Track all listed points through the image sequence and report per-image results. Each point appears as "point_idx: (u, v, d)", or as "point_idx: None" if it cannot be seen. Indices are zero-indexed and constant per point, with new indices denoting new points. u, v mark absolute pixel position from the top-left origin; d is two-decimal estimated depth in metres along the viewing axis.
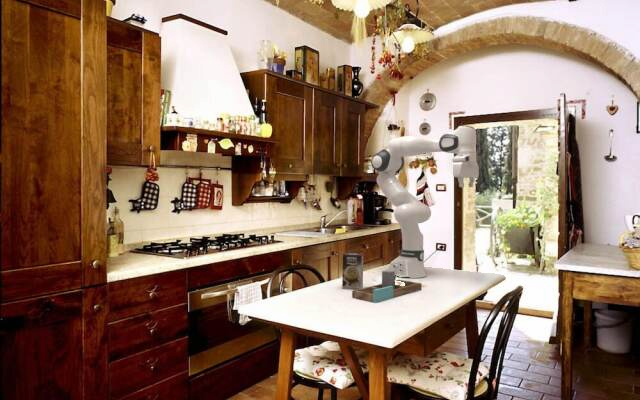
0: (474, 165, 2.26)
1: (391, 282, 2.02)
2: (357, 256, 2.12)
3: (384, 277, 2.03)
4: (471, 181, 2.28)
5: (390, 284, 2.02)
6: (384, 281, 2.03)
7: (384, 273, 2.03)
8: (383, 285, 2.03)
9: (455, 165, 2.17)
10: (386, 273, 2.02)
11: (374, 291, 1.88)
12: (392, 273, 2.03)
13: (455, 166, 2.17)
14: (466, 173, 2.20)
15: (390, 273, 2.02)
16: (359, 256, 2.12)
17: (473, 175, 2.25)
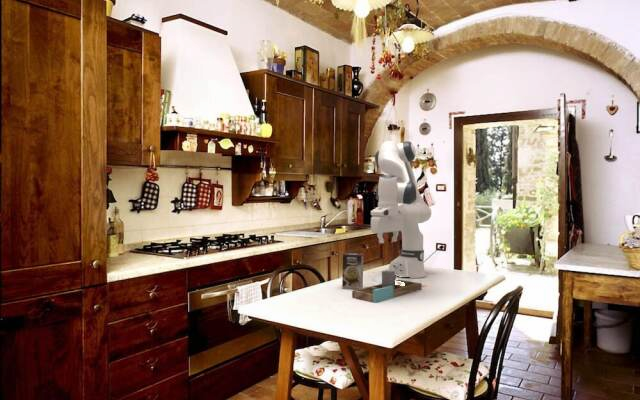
0: (397, 217, 2.06)
1: (391, 282, 2.02)
2: (357, 256, 2.12)
3: (384, 277, 2.03)
4: (395, 235, 2.07)
5: (390, 284, 2.02)
6: (384, 281, 2.03)
7: (384, 273, 2.03)
8: (383, 285, 2.03)
9: (373, 220, 1.97)
10: (386, 273, 2.02)
11: (374, 291, 1.88)
12: (392, 273, 2.03)
13: (373, 221, 1.97)
14: (386, 228, 2.00)
15: (390, 273, 2.02)
16: (359, 256, 2.12)
17: (396, 229, 2.05)
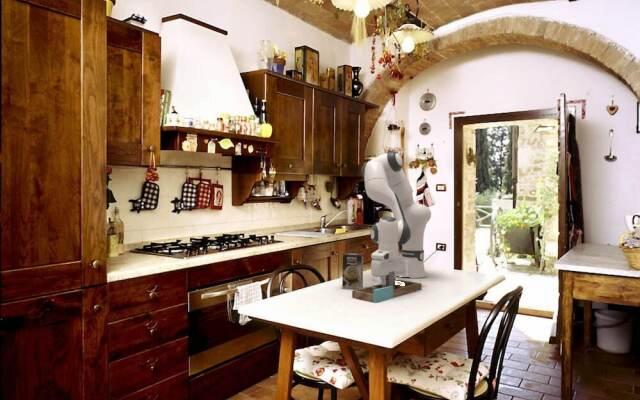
0: (397, 259, 2.06)
1: (391, 282, 2.02)
2: (357, 256, 2.12)
3: None
4: None
5: (390, 284, 2.02)
6: None
7: None
8: (383, 285, 2.03)
9: (374, 263, 1.97)
10: None
11: (374, 291, 1.88)
12: (392, 273, 2.03)
13: (373, 264, 1.97)
14: (387, 271, 2.00)
15: (390, 273, 2.02)
16: (359, 256, 2.12)
17: (396, 270, 2.05)
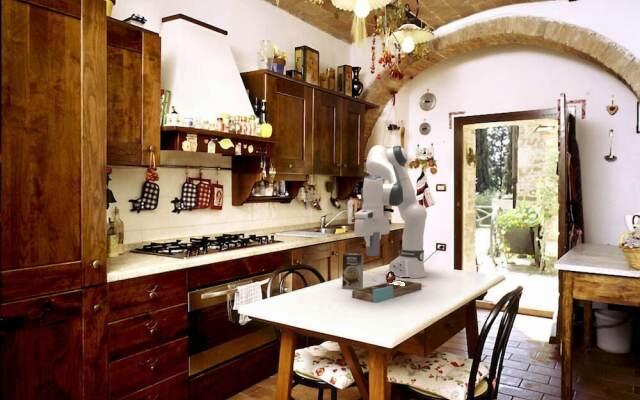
0: (383, 220, 1.98)
1: (376, 243, 1.94)
2: (357, 256, 2.12)
3: (369, 238, 1.94)
4: None
5: (375, 244, 1.93)
6: None
7: None
8: None
9: (357, 223, 1.89)
10: None
11: (374, 291, 1.88)
12: (377, 233, 1.94)
13: (357, 224, 1.89)
14: (371, 231, 1.92)
15: (375, 233, 1.93)
16: (359, 256, 2.12)
17: (381, 232, 1.97)
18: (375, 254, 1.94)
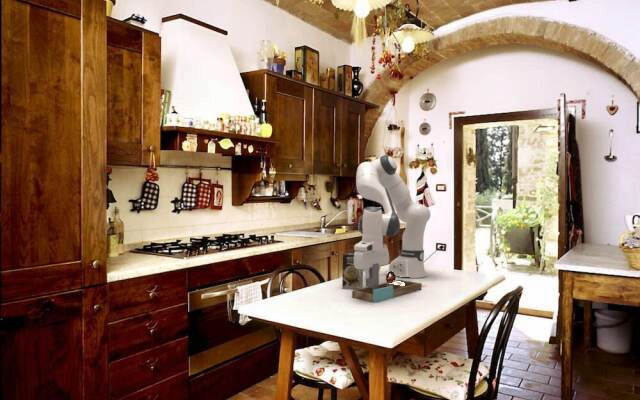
0: (382, 251, 1.98)
1: (375, 275, 1.94)
2: None
3: None
4: None
5: (374, 276, 1.94)
6: None
7: None
8: (367, 278, 1.95)
9: (356, 255, 1.89)
10: None
11: (374, 291, 1.88)
12: (376, 265, 1.95)
13: (356, 256, 1.89)
14: (370, 263, 1.92)
15: (374, 265, 1.94)
16: None
17: (381, 263, 1.97)
18: (374, 286, 1.94)
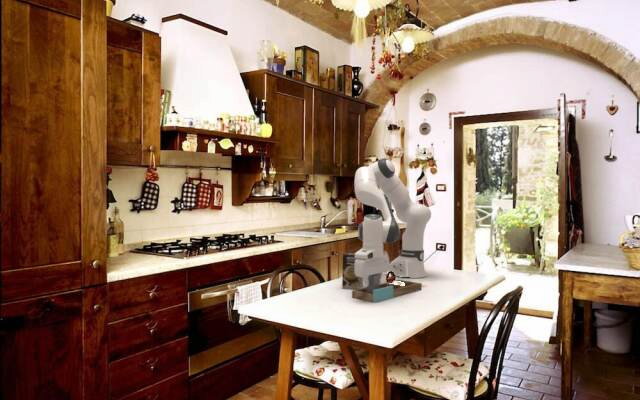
0: (382, 259, 1.98)
1: (376, 286, 1.94)
2: None
3: (369, 281, 1.95)
4: None
5: (375, 287, 1.94)
6: None
7: (369, 276, 1.95)
8: (368, 289, 1.95)
9: (357, 263, 1.89)
10: (371, 276, 1.94)
11: (374, 291, 1.88)
12: (377, 276, 1.95)
13: (357, 264, 1.89)
14: (371, 271, 1.92)
15: (375, 276, 1.94)
16: None
17: (381, 270, 1.97)
18: None
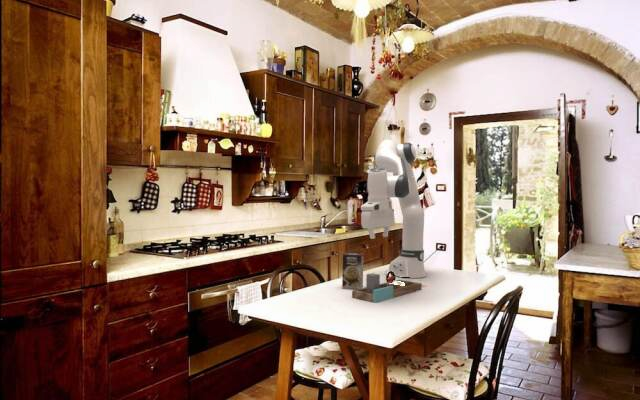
0: (388, 212, 1.99)
1: (376, 286, 1.94)
2: (357, 256, 2.12)
3: (369, 281, 1.95)
4: (386, 230, 2.01)
5: (375, 287, 1.94)
6: (368, 285, 1.95)
7: (368, 276, 1.95)
8: (367, 289, 1.95)
9: (364, 215, 1.90)
10: (371, 276, 1.94)
11: (374, 291, 1.88)
12: (377, 276, 1.95)
13: (363, 216, 1.91)
14: (377, 223, 1.93)
15: (375, 276, 1.94)
16: (359, 256, 2.12)
17: (387, 223, 1.99)
18: None
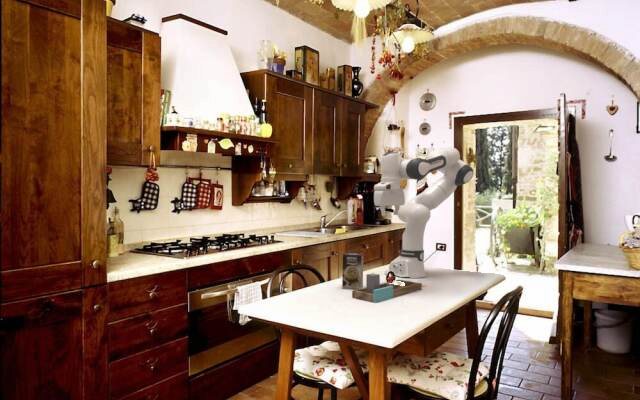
0: (399, 192, 2.19)
1: (376, 286, 1.94)
2: (357, 256, 2.12)
3: (369, 281, 1.95)
4: (396, 209, 2.21)
5: (375, 287, 1.94)
6: (368, 285, 1.95)
7: (368, 276, 1.95)
8: (367, 289, 1.95)
9: (376, 194, 2.11)
10: (370, 276, 1.94)
11: (374, 291, 1.88)
12: (377, 276, 1.95)
13: (376, 194, 2.11)
14: (388, 201, 2.14)
15: (375, 276, 1.94)
16: (359, 256, 2.12)
17: (397, 203, 2.19)
18: None
